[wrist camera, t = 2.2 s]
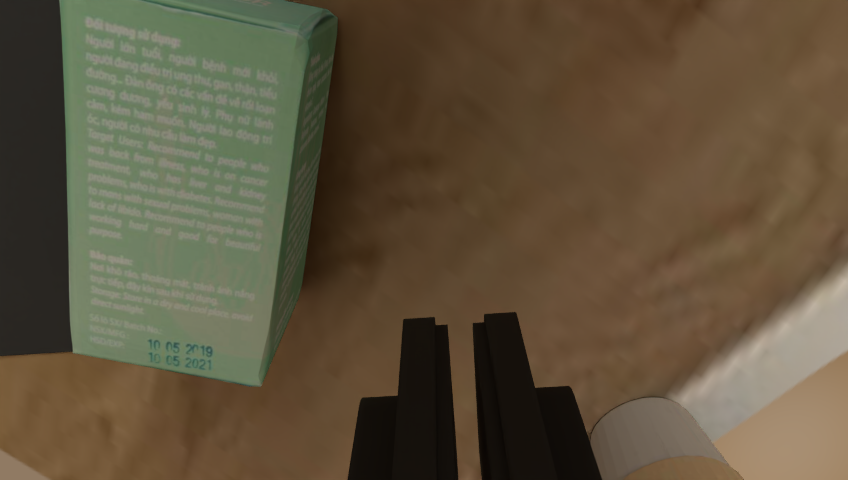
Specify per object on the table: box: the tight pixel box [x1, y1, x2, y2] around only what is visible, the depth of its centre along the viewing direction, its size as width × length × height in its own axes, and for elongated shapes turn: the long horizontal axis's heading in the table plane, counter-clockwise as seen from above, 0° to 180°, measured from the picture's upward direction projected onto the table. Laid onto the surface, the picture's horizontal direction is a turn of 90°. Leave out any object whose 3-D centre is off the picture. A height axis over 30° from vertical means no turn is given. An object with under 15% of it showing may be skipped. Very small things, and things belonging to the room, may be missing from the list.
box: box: [59, 0, 338, 387], centre depth 23 cm, size 7×14×8 cm, turn 168°
